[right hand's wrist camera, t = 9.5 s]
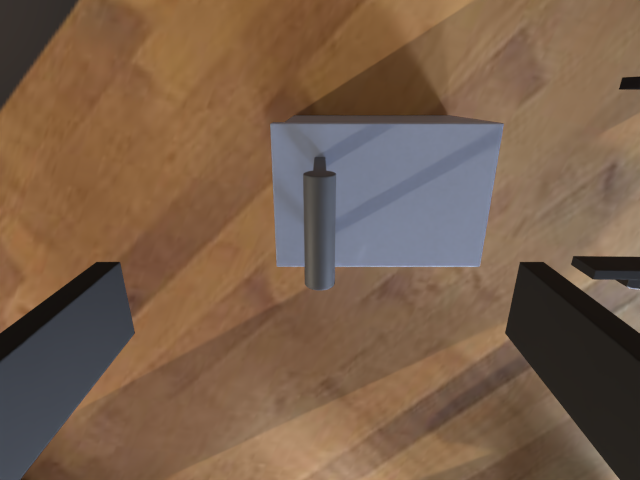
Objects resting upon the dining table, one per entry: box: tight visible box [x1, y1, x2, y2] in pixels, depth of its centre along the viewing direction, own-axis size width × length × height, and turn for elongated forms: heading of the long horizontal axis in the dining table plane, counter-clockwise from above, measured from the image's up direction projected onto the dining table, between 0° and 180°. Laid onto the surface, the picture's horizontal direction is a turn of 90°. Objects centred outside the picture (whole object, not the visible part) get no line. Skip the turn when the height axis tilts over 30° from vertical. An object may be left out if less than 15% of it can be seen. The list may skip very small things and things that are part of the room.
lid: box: [270, 122, 504, 290], centre depth 22 cm, size 14×10×8 cm
